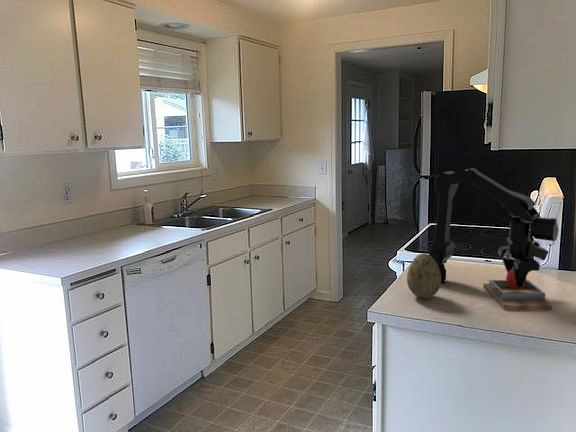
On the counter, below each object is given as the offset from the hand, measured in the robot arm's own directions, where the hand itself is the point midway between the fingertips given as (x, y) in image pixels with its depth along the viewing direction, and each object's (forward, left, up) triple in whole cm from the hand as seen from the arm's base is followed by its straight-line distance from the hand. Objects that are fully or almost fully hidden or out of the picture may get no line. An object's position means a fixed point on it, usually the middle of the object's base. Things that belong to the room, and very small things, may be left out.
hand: (515, 283), depth 150 cm
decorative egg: (-29, 0, -5) cm, 29 cm away
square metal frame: (0, 0, -3) cm, 3 cm away
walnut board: (0, 0, -5) cm, 5 cm away
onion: (0, 0, -2) cm, 2 cm away
